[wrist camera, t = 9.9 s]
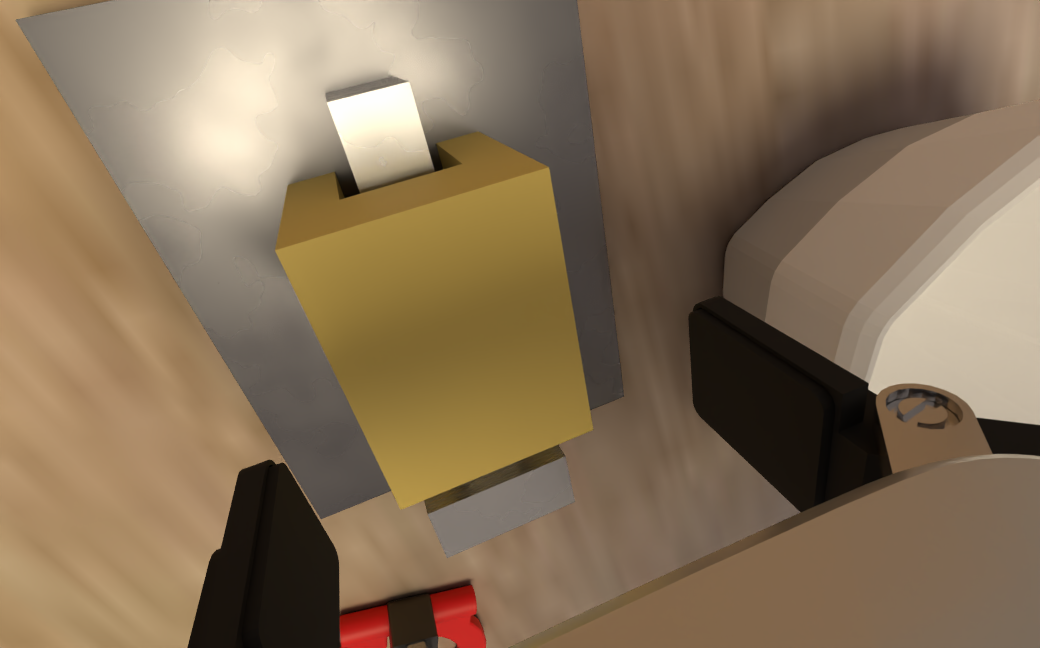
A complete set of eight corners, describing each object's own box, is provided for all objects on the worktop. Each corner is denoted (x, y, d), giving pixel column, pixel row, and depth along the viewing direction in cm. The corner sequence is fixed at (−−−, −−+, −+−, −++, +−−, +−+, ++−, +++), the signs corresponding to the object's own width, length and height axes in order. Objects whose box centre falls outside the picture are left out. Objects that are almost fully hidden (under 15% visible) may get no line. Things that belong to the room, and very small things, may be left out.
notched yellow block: (478, 131, 17) (548, 166, 12) (525, 337, 21) (593, 429, 16) (287, 184, 15) (274, 250, 10) (378, 391, 20) (400, 509, 15)
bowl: (959, 307, 31) (1176, 393, 23) (715, 468, 30) (856, 615, 22) (978, -11, 22) (1358, -45, 14) (620, 212, 21) (808, 312, 13)
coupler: (555, -85, 15) (650, -138, 11) (615, 386, 25) (680, 459, 20) (31, 21, 13) (-118, 7, 8) (320, 504, 22) (322, 616, 18)
